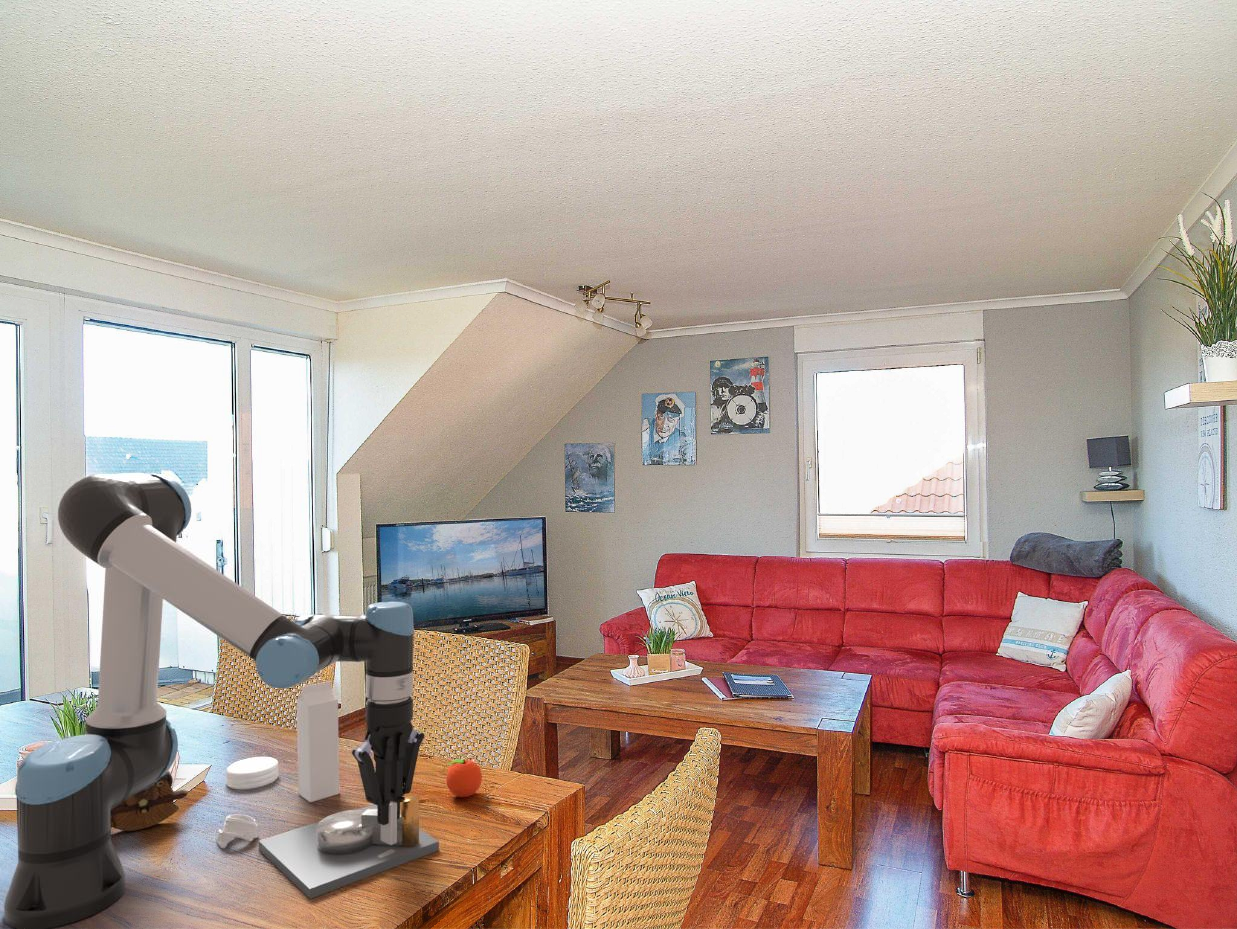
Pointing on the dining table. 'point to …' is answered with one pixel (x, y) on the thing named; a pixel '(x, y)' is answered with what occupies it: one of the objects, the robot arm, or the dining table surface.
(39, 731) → the dining table surface
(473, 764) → the clementine
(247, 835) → the whipped cream
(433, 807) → the dining table surface
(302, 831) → the plate
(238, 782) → the round white tin
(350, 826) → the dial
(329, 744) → the milk
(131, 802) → the wooden carving
